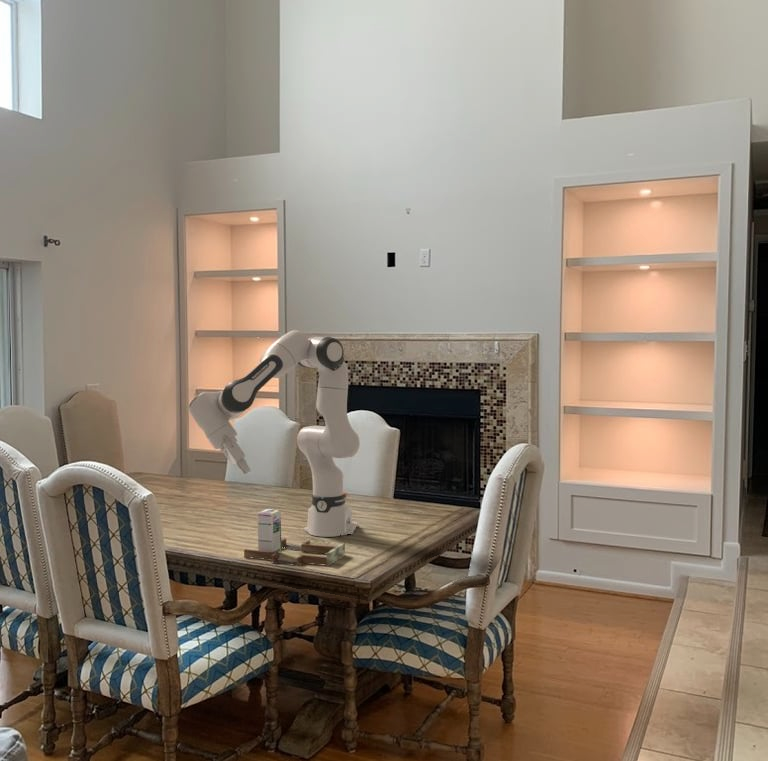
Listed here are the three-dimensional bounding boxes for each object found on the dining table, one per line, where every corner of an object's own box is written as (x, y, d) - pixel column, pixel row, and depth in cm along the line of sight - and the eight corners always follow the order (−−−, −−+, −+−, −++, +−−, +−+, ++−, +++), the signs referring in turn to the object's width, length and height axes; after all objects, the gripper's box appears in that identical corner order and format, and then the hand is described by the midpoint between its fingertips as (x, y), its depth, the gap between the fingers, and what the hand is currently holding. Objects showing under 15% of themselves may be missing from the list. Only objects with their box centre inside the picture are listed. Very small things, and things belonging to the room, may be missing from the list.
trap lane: (268, 543, 281) (267, 532, 280) (349, 551, 271) (349, 539, 271) (239, 559, 261) (239, 547, 261) (326, 568, 252) (326, 556, 252)
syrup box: (273, 557, 265) (272, 513, 264) (257, 555, 267) (257, 511, 266) (281, 552, 270) (281, 509, 269) (266, 550, 272) (265, 508, 271)
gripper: (233, 429, 254) (258, 465, 255) (230, 434, 274) (253, 468, 274) (216, 440, 253) (241, 477, 253) (214, 445, 272) (238, 479, 273)
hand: (247, 472), depth 264 cm, fingers open, 8 cm apart
